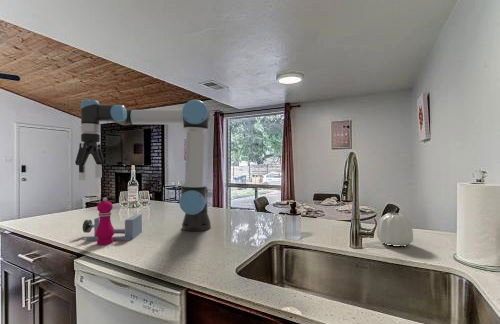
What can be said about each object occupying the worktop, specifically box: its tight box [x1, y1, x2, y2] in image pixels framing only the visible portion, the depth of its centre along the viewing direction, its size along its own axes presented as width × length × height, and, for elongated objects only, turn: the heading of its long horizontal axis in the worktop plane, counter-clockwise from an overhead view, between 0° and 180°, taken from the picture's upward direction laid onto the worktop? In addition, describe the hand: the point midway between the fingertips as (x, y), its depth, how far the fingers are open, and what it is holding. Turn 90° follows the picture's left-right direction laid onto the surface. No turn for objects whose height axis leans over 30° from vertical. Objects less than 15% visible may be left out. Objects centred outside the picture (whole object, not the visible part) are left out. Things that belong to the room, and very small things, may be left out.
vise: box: [85, 213, 143, 242], centre depth 131 cm, size 20×15×9 cm
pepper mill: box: [96, 197, 115, 246], centre depth 120 cm, size 7×7×20 cm
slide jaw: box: [82, 216, 100, 237], centre depth 131 cm, size 9×10×9 cm
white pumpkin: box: [376, 212, 414, 246], centre depth 119 cm, size 14×14×13 cm
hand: (91, 178), depth 129 cm, fingers open, 13 cm apart
